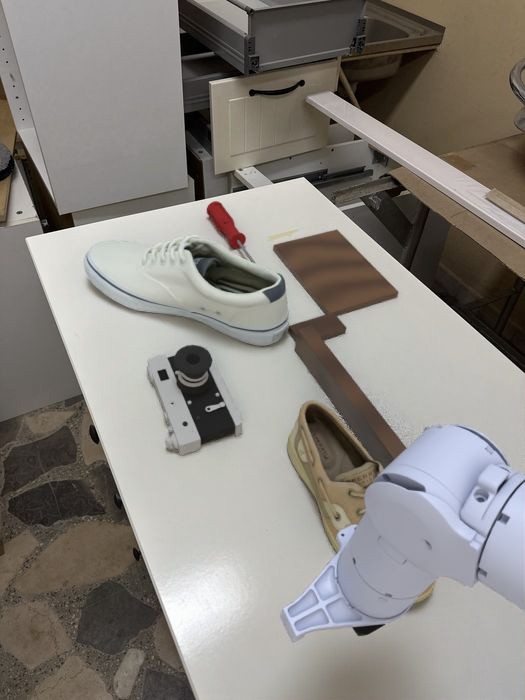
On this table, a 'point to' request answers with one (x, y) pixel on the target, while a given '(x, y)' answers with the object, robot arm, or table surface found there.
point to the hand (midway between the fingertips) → (348, 611)
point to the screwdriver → (227, 226)
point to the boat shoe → (333, 469)
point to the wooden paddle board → (339, 328)
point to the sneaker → (193, 285)
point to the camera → (193, 398)
